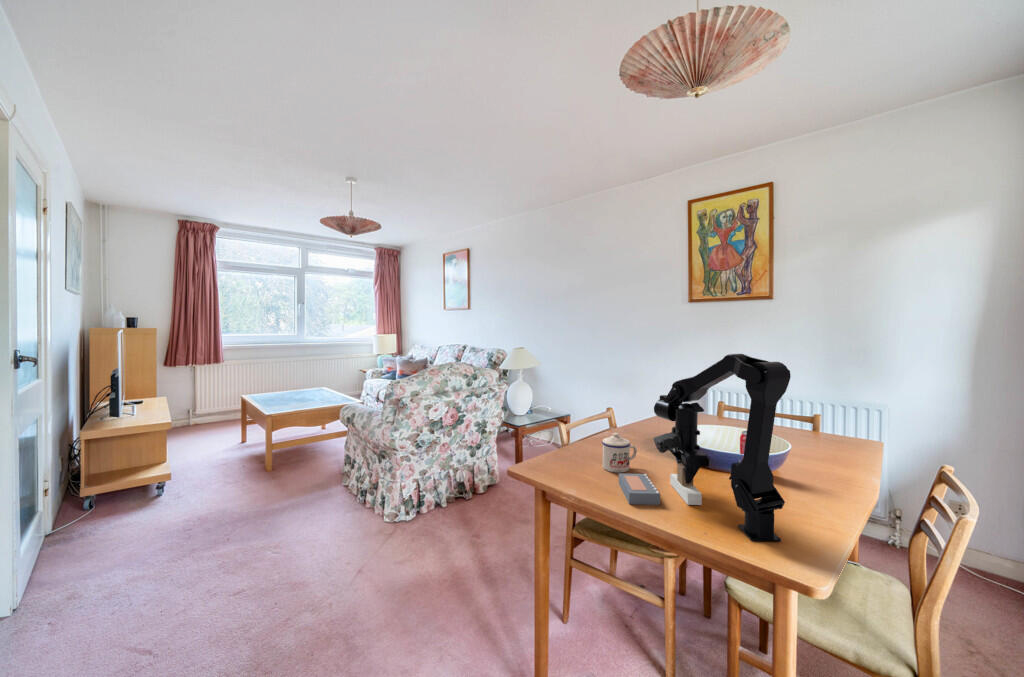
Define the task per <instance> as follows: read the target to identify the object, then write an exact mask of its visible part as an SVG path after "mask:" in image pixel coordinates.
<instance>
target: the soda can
mask: <svg viewBox="0 0 1024 677" xmlns="http://www.w3.org/2000/svg"><path fill="white" fill-rule="evenodd" d="M746 434H747V430H743V431H741V434H740V437H739V455H740V454H744V449H745V441H746Z"/></svg>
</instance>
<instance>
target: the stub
mask: <svg viewBox="0 0 1024 677" xmlns="http://www.w3.org/2000/svg"><path fill="white" fill-rule="evenodd" d="M676 465H677V470H676V471H677V472H676V473H670V474H669V475H670V479H669V480H670V482H669V483H670V485H671V486H672V488H673V489H674V490H675V491H676V492H677V494H678V495H679V496H680V498H681V499H682V500H683V501H684V502H685V504H686V505H687V506H688V505H689V506H703V500H702V499H703V495H702V492H701V491H699V489H698V488H697V487H696V486H695V485H694V479H693V480H692V482H691V483H690V484H687V483H686V480H685V473H684V466H683V464H682V463H677V462H676Z"/></svg>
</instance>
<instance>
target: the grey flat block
mask: <svg viewBox="0 0 1024 677" xmlns="http://www.w3.org/2000/svg"><path fill="white" fill-rule="evenodd" d="M618 485H619V486H620V488H621V491H622V493H623V494H624V497H625V498H626V501H627V502H628V504H629V505H643V506H644V505H646V506H647V505H648V506H650V505H652V506H660V505H661V494H660V493H661V492H659V491H658V489H657V487H656V486H655V485H654V483H653V481H651V479H650V478H649V477H648V475H647V474H646V473H625V472H622V473H618Z"/></svg>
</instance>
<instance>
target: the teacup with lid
mask: <svg viewBox="0 0 1024 677" xmlns="http://www.w3.org/2000/svg"><path fill="white" fill-rule="evenodd" d="M601 444H602V468H603V469H604V471H608V472H610V473H617V474H619V473H625V472H628V471H629V470H630V461H632V460H634V459H635V458H636V456H637V452H638V450H637V447H636V446H635V445H633V444H631V442H630V440H628V439H627V438H624V437H622V436H620V433H618V432H614V433H612V435H610V436H608V437H605V438H603V439H602V441H601ZM630 449H633V453H632V455H631V454H630V452H631V450H630ZM630 455H631V456H630Z"/></svg>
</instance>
